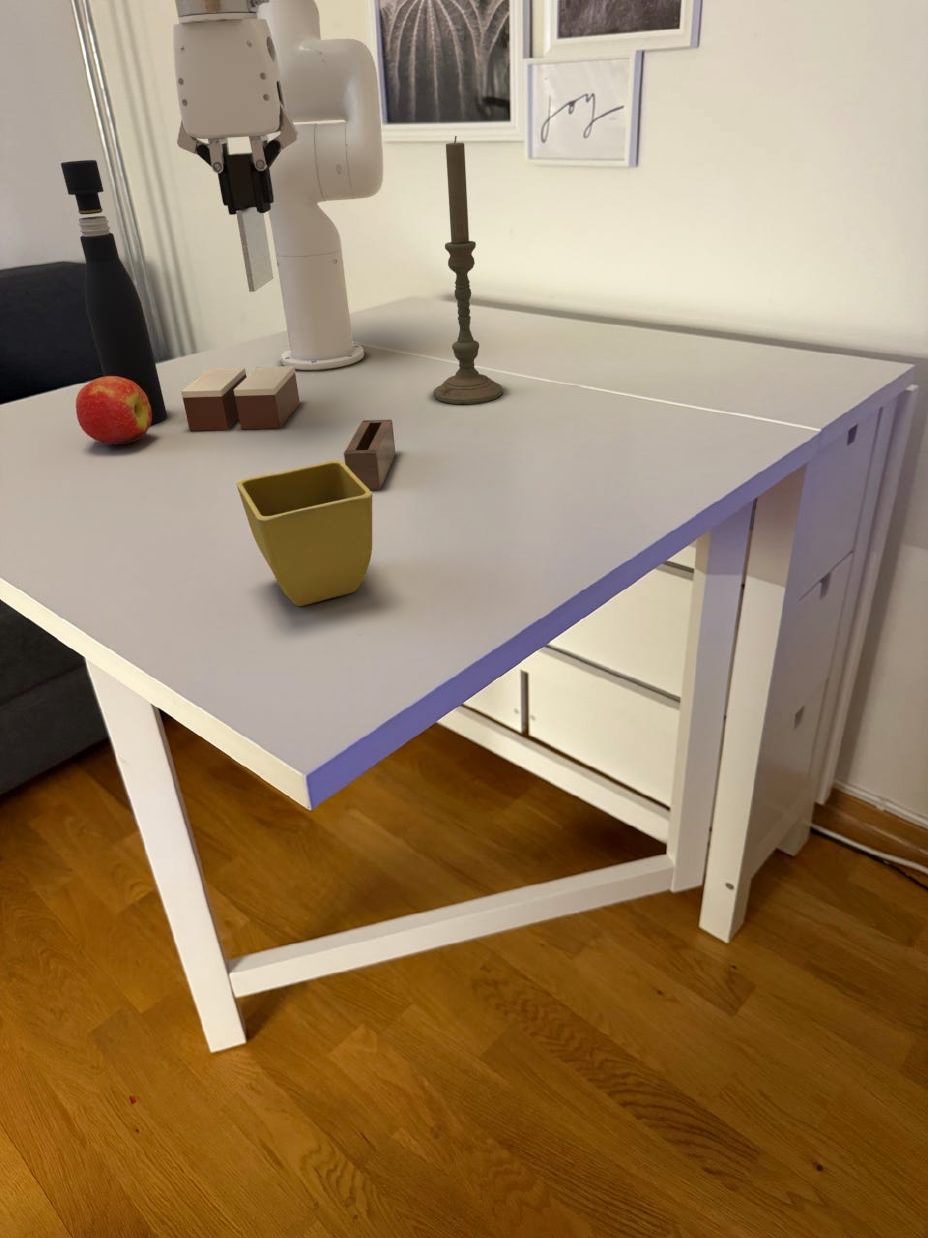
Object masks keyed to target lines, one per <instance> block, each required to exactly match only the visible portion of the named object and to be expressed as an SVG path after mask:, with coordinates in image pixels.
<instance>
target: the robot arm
mask: <svg viewBox="0 0 928 1238" xmlns="http://www.w3.org/2000/svg"><path fill="white" fill-rule="evenodd" d="M174 3H175V7H176V13H177V19H178V23H174V24H172V37H173V38H172V47H173V63H174V76H175V85H176V92H177V99H178V105H179V106H178V107H179V112H180V117H181V119H180V123H179V124H180V125H179V130H178V133H177V134H178V135H177V139H176V144H177V146H178V147H179V148H181V149H183V150H184V151H187V152H189V153H191V154H194V155H197V156H198V157H200V158H201V159H202V160H203V161H204V162H205V164H207V165H208V166H210V167H211V169H212V171H213V172H214V173H216V174H217V179H218V184H219V189H220V190H219V191H220V195H221V200H222V204H223V206H225V207H227V211H228V214H229V216H233V215H234V216H235V215H237V214H236V211H237V210H239V209H242V208H234V203H233V197H232V191H231V185H230V179H229V173H228V167H227V161H226V155H229V154H230V149H229V141H228V139H232V138H245V137H246V138H248V139H249V144H250V150H251V152H252V155H253V160H254V165H253V167H254V171H253V172H252V180H253V186H254V193H255V199H256V205H257V207H256V208H257V212H259V213H264V214H266V213H268V217H269V224H270V228H271V233H272V239H273V246H274V252H275V258H276V266H277V271H278V272H277V273H278V279H279V285H280V292H281V297H282V304H283V310H284V319H285V324H286V330H287V338H288V344H289V349H288V350H286V351H284V352H283V353H282V354H281V356H280V359H281V364H282V366H294V367H295V370H300V371H318V370H319V371H320V370H330V369H336V368H341V367H346V366H350V365H352V364H356V363H357V362H359V361H361V360H362V359H363V358H364V357H365V350H364V347H363V346H362V345H360V344H357V343H354V342H353V334H352V326H351V325H352V324H351V318H350V308H349V300H348V299H349V298H348V292H347V291H348V289H347V282H346V275H345V273H346V272H345V265H344V258H343V249H342V241H341V236H340V232H339V230H338V228H337V226H336V224H335V223H334V222H333V221H332V219H331V218H330V217H329V216H328V215H327V214H326V212H324V210H323V209H322V208H321V206H319V205H318V203H324V202H330V201H331V202H333V201H345V200H358V199H359V200H361V199H368V198H371V197H373V196H376V195H377V194H378V193H379V192H380V191H381V188H382V186H383V181H384V151H383V137H382V136H383V135H382V121H381V119H382V118H381V107H380V106H381V105H380V104H381V103H380V91H379V90H380V89H379V82H378V80H379V79H378V73H377V67H376V64H375V60H374V57H373V55H372V52H371V50H370V49H369V47H368V46H367V45H366V44H365V43H363V41H361V40H358V39H354V38H334V39H322V38H321V37H322V36H321V24H320V22H321V21H320V17H321V16H320V11H319V8H318V7H319V6H318V5H317V3H316V1H315V0H174ZM325 121H327V123H326V122H325ZM328 121H339V122H328ZM311 122H313V123H311ZM314 122H315V123H314ZM316 122H324V123H316ZM294 123H300V124H294ZM202 140H207V141H208V143H206V142H204V141H202Z"/></svg>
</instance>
